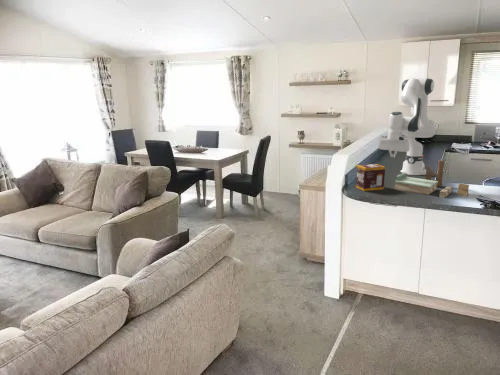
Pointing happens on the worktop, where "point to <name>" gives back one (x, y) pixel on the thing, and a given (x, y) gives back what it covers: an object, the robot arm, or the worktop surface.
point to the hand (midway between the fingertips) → (392, 157)
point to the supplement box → (370, 177)
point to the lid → (414, 181)
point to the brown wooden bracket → (439, 174)
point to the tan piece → (423, 189)
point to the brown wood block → (463, 189)
